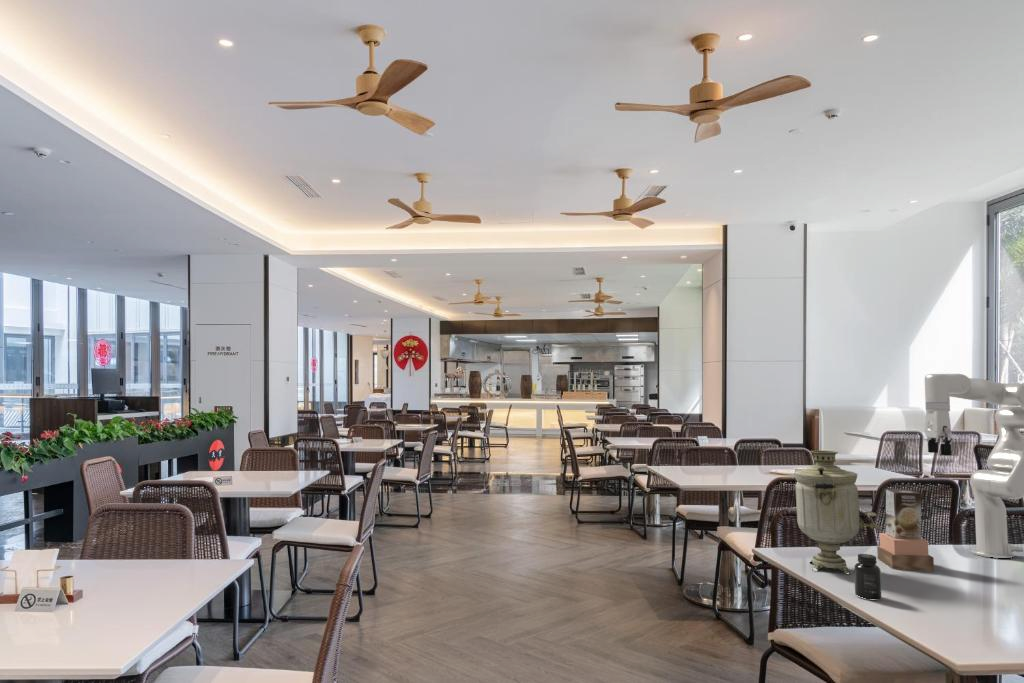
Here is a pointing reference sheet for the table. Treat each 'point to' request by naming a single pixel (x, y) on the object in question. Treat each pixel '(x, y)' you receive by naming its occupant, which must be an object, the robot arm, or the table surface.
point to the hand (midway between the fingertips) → (939, 453)
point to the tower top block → (903, 545)
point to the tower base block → (905, 561)
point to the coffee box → (903, 513)
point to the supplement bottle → (867, 577)
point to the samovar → (828, 508)
